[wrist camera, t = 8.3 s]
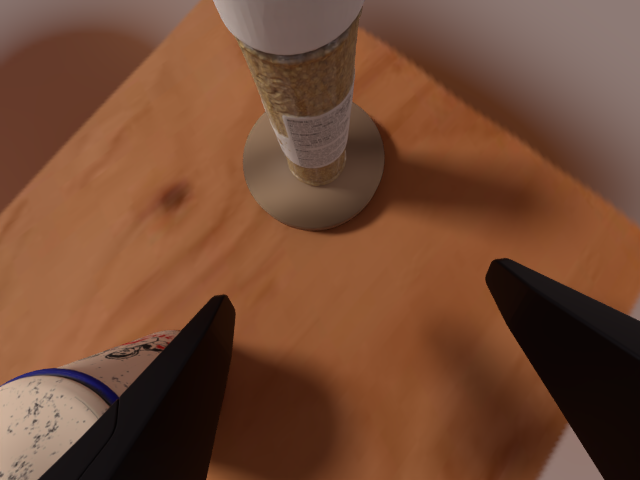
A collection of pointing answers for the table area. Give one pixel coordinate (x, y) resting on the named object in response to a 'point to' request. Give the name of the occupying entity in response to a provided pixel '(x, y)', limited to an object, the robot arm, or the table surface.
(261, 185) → the grey-brown round disc
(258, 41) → the sprinkles bottle
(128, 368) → the cream ceramic jar
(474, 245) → the table surface
